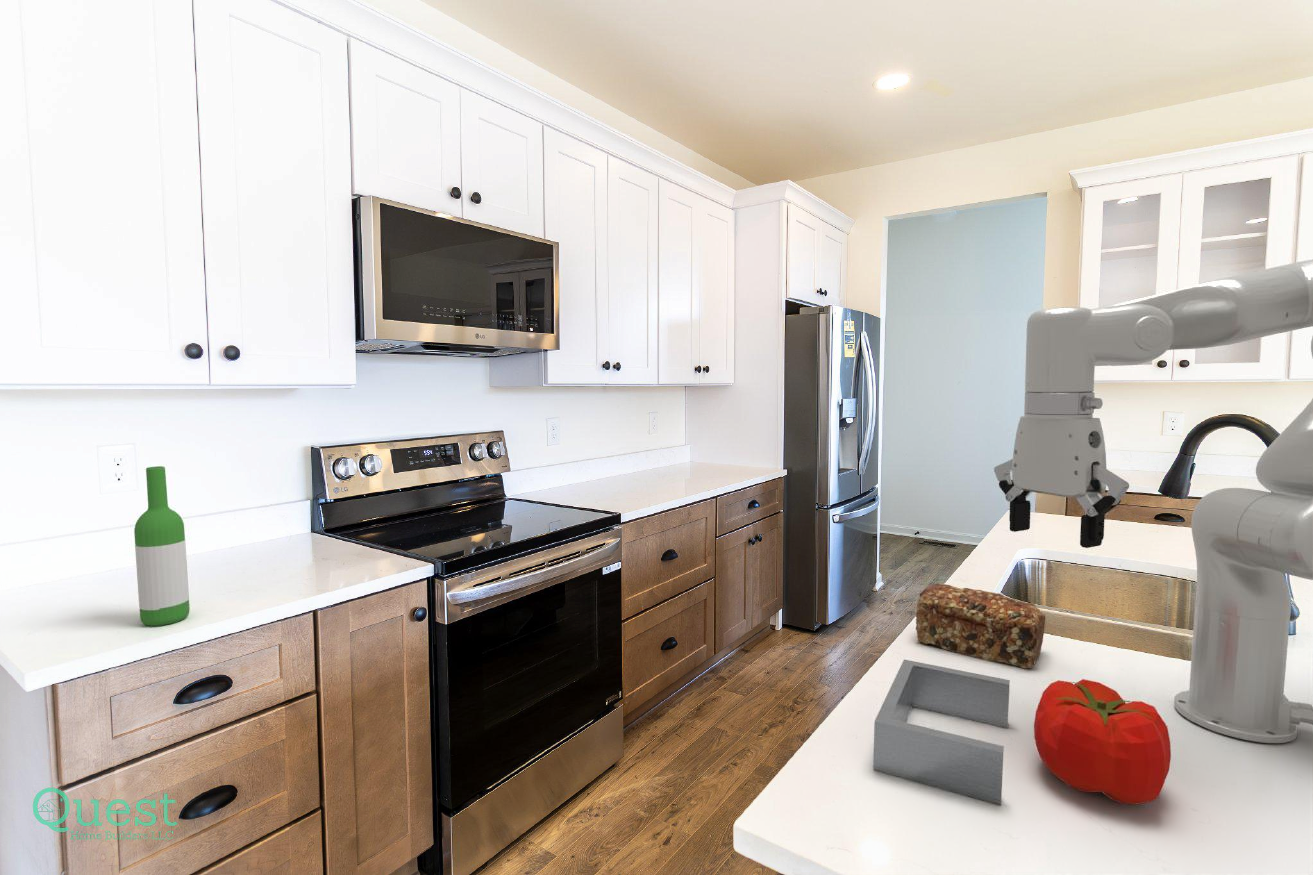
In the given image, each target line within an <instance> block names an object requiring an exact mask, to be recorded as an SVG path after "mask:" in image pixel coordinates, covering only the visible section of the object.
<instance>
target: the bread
mask: <svg viewBox="0 0 1313 875" xmlns="http://www.w3.org/2000/svg"><path fill="white" fill-rule="evenodd" d="M916 604H917V605H916V613H915V618H916V619H915V631H916V638H917V641H918V642H920V643H922V644H924V645H925V646H927V645H929V644H930V645H934V646H936V647H938V648H942V649H944V650H945V651H949V652H953V653H959V654H961V655H965V656H969V657H973V658H976V659H981V660H984V661H988V662H998V663H1005V664H1006V665H1013V666H1015V667H1020V669H1032V668H1033V666H1034V665H1035V664H1036V660H1037V659H1038V658H1039V657H1040V655H1041V650H1042V645H1043V642H1044V635H1045V634H1044V633H1045V625H1046V615H1045V613H1042V611H1041V610H1040V609H1039V608H1038V607H1037V606H1036V605H1035V604H1034V603H1031V602H1030V603H1029V602H1026V601H1021V600H1018V599H1015V598H1011V597H1007V596H1005V595H1003V594H1002V593H1000V592H997V593H996V592H993V591H985V590H982V589H975V588H974V589H973V588H970V587H969V588H968V587H963V588H961V587H957V586H953V585H951V584H940V583H936V584H932V585H928V586H927V587H925V588H924V589H923V590H922V591H920V593H919V598H918V601H917V603H916Z"/></svg>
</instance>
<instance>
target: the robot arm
mask: <svg viewBox="0 0 1313 875" xmlns="http://www.w3.org/2000/svg"><path fill="white" fill-rule="evenodd" d="M1312 327H1313V258H1312V259H1306V260H1302V261H1297V262H1293V263H1292V262H1291V263H1289V264H1284V265H1283V264H1282V265H1279V266H1274V267H1269V268H1266V269H1260V270H1256V271H1252V272H1248V273H1244V274H1243V273H1242V274H1238V275H1234V276H1233V275H1232V276H1228V277H1223V278H1219V279H1215V280H1211V281H1206V282H1202V283H1198V284H1193V285H1190V286H1185V287H1182V288H1178V289H1174V290H1171V291H1168V292H1167V291H1166V292H1163V293H1159V294H1155V295H1154V294H1153V295H1151V296H1146V297H1142V298H1137V299H1133V300H1128V301H1123V302H1119V303H1114V304H1110V305H1105V306H1104V305H1103V306H1101V307H1096V308H1092V309H1091V308H1087V307H1079V306H1077V307H1076V306H1074V307H1073V306H1072V307H1071V306H1070V307H1055V308H1054V307H1052V308H1045V309H1040V310H1036V311H1034V312H1033V313H1032V314H1030V316H1029V317H1028V318H1027V322H1026V341H1025V342H1026V343H1025V344H1026V345H1025V348H1026V349H1025V377H1024V378H1025V379H1024V404H1023V405H1024V408H1023V412H1024V414H1023V416H1022V415H1021V416H1020V418H1019V420H1018V423H1017V424H1018V425H1017V429H1016V434H1015V439H1014V446H1013V454H1012V459H1009V460H1008V461H1006V462H1003V463H1000V464H998V465H997V466H995V467H994V468H993V472H994V475H995V477H996V479H997V482H998V486H999V487H998V488H1000V489H1001V491H1002V492H1003V494H1004V495H1005V500H1006V501H1007V502H1008V503H1009V516H1008V517H1009V530H1010V531H1011V532H1014V533H1017V532H1023V531H1028V530H1029V529H1030V527H1031V501H1030V500H1027V499H1028V497H1029V496H1030V495H1031V494H1032V493H1037V494H1044V495H1048V496H1049V495H1050V496H1054V497H1055V496H1056V497H1062V498H1064V497H1065V498H1071V499H1076V501H1077V502H1078V503H1079V505H1080V506H1081V508H1082V509H1083V511H1084V512H1085V513H1086V514H1082V515H1081V516H1080V530H1079V531H1080V533H1079V534H1080V535H1079V536H1080V537H1079V538H1080V539H1079V545H1080V546H1081V547H1082V548H1085V549H1089V548H1095V547H1099V546H1101V545H1102V543H1103V540H1104V538H1105V536H1104V535H1105V516H1106V515H1108V514H1110V512H1111V511H1112V510H1113V509H1115V508H1116V507H1117V506H1118V505H1120V504H1121V501H1122V500H1121V499H1122V498H1123V497H1124V496H1125V494H1126V492H1127V491H1128V489H1129V488H1130V483H1129V482H1128V481H1127V480H1125V479H1123V478H1121V477H1120V476H1119V475H1117V474H1115V473H1113V472H1112V471H1111V470H1109V469H1108V468H1107V453H1106V444H1105V442H1106V441H1105V436H1104V431H1103V427H1102V423H1101V418H1099V417H1093V415H1094V413H1095V412H1094V411H1095V410H1099V409H1102V407H1103V404H1104V402H1103V400H1102V398H1100V397H1099V398H1098V397H1095V392H1094V390H1095V370H1096V369H1095V368H1096V367H1103V366H1105V367H1107V366H1109V367H1110V366H1112V367H1117V366H1118V367H1119V366H1121V367H1122V366H1137V365H1143V364H1146V363H1149V362H1152V361H1154V360H1156V359H1158V358H1160V357H1161V356H1163V355H1164V354H1165V353H1166V352H1167V351H1174V350H1197V349H1199V350H1200V349H1206V348H1216V347H1222V346H1231V345H1235V344H1239V343H1244V342H1247V341H1248V342H1249V341H1251V340H1255V339H1260V338H1264V337H1268V336H1273V335H1277V334H1283V333H1288V332H1291V331H1297V330H1301V329H1305V328H1312ZM1310 352H1311V357H1312V358H1313V336H1312V337H1311V341H1310ZM1255 475H1256V479H1257V481H1258V482H1259V484H1260V485H1261V486H1262V487H1264V489H1266V490H1268V491H1265V490H1260V489H1253V488H1246V487H1243V488H1242V487H1228V488H1227V487H1226V488H1221V489H1217V490H1216V489H1215V490H1213V491H1211V492H1209V493H1207V494H1206V495H1204V496H1202V497H1201V499H1200V500H1199V501H1198V502H1197V504H1196V505H1195V507H1194V509H1193V511H1192V515H1191V524H1190V525H1191V535H1192V541H1193V546H1194V551H1195V552H1194V553H1195V558H1196V589H1195V591H1196V592H1195V602H1194V603H1195V604H1194V615H1193V616H1194V617H1193V628H1192V629H1193V630H1192V642H1191V643H1192V644H1191V645H1192V646H1191V658H1190V659H1191V663H1190V674H1189V675H1190V678H1189V685H1188V686H1189V689H1188V690H1184V691H1181V692H1180V691H1179V692H1178V693H1177V694H1175V695H1174V702H1173V705H1174V708H1175V709H1176V710H1177V712H1178V713H1179V714H1180V715H1182V716H1183V717H1185V718H1186V719H1187V720H1188V721H1190V722H1193V723H1195V724H1196V725H1198V726H1200V727H1203V728H1205V729H1208V730H1210V731H1212V732H1215V733H1218V734H1221V735H1225V736H1228V737H1231V738H1235V739H1240V740H1244V741H1248V742H1249V741H1250V742H1256V743H1264V744H1285V743H1289V742H1292V741H1294V740H1295V739H1296V738H1297V737H1298V726H1297V725H1300V724H1301V723H1305V724H1310V725H1312V726H1313V704H1310V703H1304V702H1296V701H1291V700H1289V698H1287V697H1286V695H1285V682H1286V681H1285V680H1286V672H1287V670H1286V669H1287V668H1286V667H1287V656H1288V646H1289V632H1290V621H1291V614H1292V613H1291V612H1292V599H1291V593H1290V588H1289V586H1288V582H1287V579H1286V578H1285V576H1284V574H1285V575H1290V576H1294V577H1297V578H1300V579H1305V580H1309V581H1313V398H1312V399H1311V401H1310V402H1309V403H1308V404H1307V405H1306V406H1305V407H1304V409H1303V410H1302V411H1301V412H1300V413H1299V414H1298V415H1297V417H1295V418H1294V420H1292V421H1291V423H1290V424H1288V426H1287V427H1286V428H1285V429H1284V430H1283V431H1282V432H1281V433H1280V434H1278V436H1277V437H1276V438H1275V439H1274V440H1273V441H1272V442H1271V444H1270V445H1269V446H1268V447H1267V448H1266V449H1265V450H1264V451H1263V453H1262V454H1261V455H1260V458H1259V459H1258V461H1257V463H1256V466H1255ZM1011 478H1012V479H1011ZM1106 489H1108V490H1107V492H1106ZM1105 492H1106V494H1105V495H1104V496H1102V495H1103V494H1104V493H1105Z"/></svg>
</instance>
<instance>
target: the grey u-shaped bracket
mask: <svg viewBox="0 0 1313 875" xmlns="http://www.w3.org/2000/svg"><path fill="white" fill-rule="evenodd" d="M895 675H896V676H895V678H894V680H893V681H892V684H891V686H890V688H889V690H888V692H887V694H886V696H885V698H884V701H883V702H882V704H881V707H880V709H879V712H878V713H877V715H876V717H875V719H874V726H873V727H874V730H873V766H872V768H873V770H874V771H878V772H881V773H884V774H888V775H891V776H894V777H899V778H902V779H904V780H905V779H906V780H909V781H913V782H916V783H920V784H922V785H923V784H924V785H928V786H930V787H934V788H938V789H941V790H945V791H948V792H951V793H955V794H959V795H962V796H966V797H969V798H973V799H975V800H976V799H977V800H980V801H984V802H987V803H990V804H993V805H994V804H995V805H998V806H1001V805H1002V798H1003V797H1002V795H1003V793H1002V792H1003V772H1004V771H1003V769H1004V753H1005V752H1004V751H1005V750H1004V749H1005V747H1004V745H1000V744H996V743H993V742H988V741H984V740H979V739H975V738H971V737H967V736H962V735H960V734H955V733H951V732H946V731H943V730H938V729H934V728H931V727H926V726H922V725H917V724H914V723H909V722H907V720H908V718H909V715H910V713H911V709H912V708H913V707H914V708H919V709H922V710H926V711H932V712H936V713H941V714H943V715H944V714H945V715H949V716H953V717H958V718H963V719H966V720H971V721H975V722H979V723H983V724H989V725H992V726H998V727H1001V728H1005V729H1008V725H1009V707H1010V706H1009V705H1010V704H1009V703H1010V685H1011V684H1010V683H1011V680H1010V679H1005V678H1000V677H995V676H990V675H986V674H985V675H984V674H981V673H975V672H969V671H964V670H960V669H956V668H950V667H946V666H945V667H944V666H941V665H940V666H939V665H935V664H930V663H924V662H920V661H916V660H915V661H914V660H910V659H903V660H902V663H901V664H900V667H899V669H898V671H897V673H896V674H895Z"/></svg>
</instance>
